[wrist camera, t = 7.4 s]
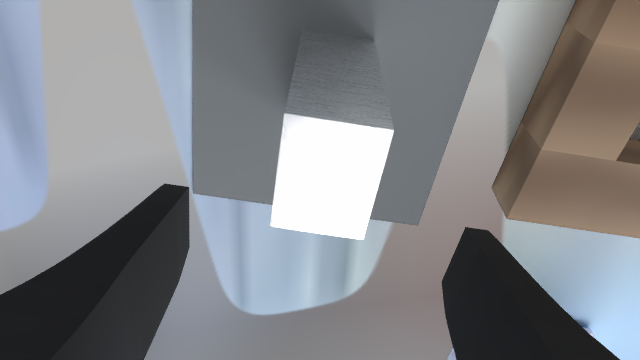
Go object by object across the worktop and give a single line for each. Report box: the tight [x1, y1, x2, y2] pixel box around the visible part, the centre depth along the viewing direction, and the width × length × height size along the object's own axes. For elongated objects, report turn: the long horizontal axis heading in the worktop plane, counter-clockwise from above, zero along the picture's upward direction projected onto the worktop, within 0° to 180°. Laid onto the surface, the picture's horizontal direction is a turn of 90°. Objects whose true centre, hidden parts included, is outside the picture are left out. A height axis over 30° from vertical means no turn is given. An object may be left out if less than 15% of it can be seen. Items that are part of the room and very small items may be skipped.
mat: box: [193, 0, 499, 225], centre depth 20 cm, size 14×12×1 cm
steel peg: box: [270, 28, 394, 240], centre depth 17 cm, size 3×4×8 cm
